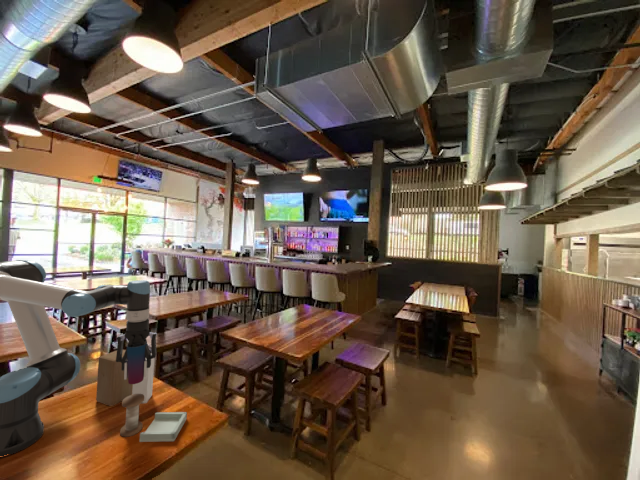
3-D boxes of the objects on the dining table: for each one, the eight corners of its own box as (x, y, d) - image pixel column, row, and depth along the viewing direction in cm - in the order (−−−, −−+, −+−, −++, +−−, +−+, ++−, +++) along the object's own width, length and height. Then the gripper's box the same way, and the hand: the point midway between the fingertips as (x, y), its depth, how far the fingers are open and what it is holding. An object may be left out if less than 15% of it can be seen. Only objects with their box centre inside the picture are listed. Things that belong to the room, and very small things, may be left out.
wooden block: (94, 401, 116) (97, 356, 116) (118, 389, 126) (120, 347, 125) (111, 407, 113) (114, 361, 113) (133, 394, 123) (136, 352, 122)
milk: (131, 404, 116) (134, 354, 116) (138, 395, 122) (140, 348, 122) (146, 403, 117) (149, 354, 117) (152, 395, 123) (155, 348, 123)
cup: (121, 385, 103) (122, 347, 103) (133, 376, 110) (134, 340, 110) (139, 385, 103) (140, 347, 103) (149, 376, 110) (150, 340, 110)
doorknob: (115, 437, 98) (117, 404, 98) (127, 423, 105) (129, 393, 105) (135, 436, 99) (138, 404, 98) (146, 423, 105) (147, 393, 105)
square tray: (139, 441, 96) (139, 434, 96) (155, 419, 108) (156, 412, 108) (174, 441, 98) (174, 433, 98) (186, 418, 110) (187, 412, 110)
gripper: (105, 324, 100) (103, 385, 100) (162, 320, 106) (161, 378, 106) (113, 318, 107) (111, 375, 107) (166, 315, 113) (165, 369, 113)
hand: (136, 376), depth 107 cm, fingers closed on cup, 6 cm apart
